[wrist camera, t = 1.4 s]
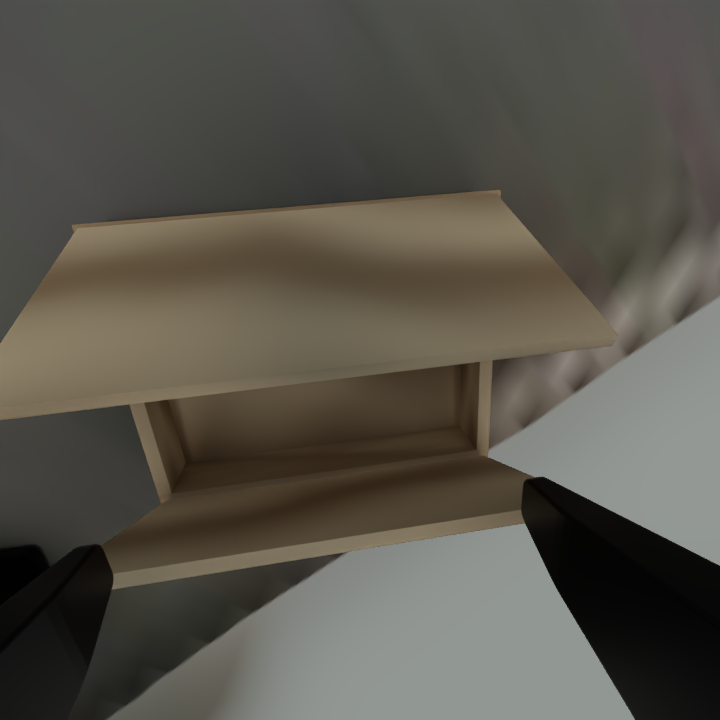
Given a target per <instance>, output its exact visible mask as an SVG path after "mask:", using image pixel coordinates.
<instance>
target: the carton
mask: <svg viewBox="0 0 720 720" xmlns="http://www.w3.org/2000/svg"><path fill="white" fill-rule="evenodd" d="M485 194H497V195H498V196H499V197H500V196H501V190H491V191H477V192H464V193H452V194H440V195H427V196H415V197H403V198H391V199H379V200H367V201H354V202H342V203H330V204H318V205H306V206H293V207H281V208H269V209H257V210H245V211H232V212H220V213H208V214H196V215H184V216H171V217H159V218H147V219H135V220H123V221H110V222H99V223H88V224H77V225H72V228H73V231H74V233H75V231H76V230H77V228H87V227H99V226H111V225H123V224H135V223H147V222H159V221H171V220H183V219H195V218H207V217H219V216H231V215H243V214H256V213H268V212H280V211H292V210H304V209H316V208H328V207H340V206H352V205H364V204H376V203H388V202H400V201H412V200H424V199H437V198H449V197H461V196H473V195H485ZM492 363H493V360H490V361H482V362H474V363H466V364H458V365H449V366H441V367H433V368H425V369H416V370H408V371H400V372H392V373H384V374H375V375H367V376H359V377H351V378H342V379H334V380H326V381H318V382H309V383H301V384H293V385H285V386H277V387H268V388H260V389H252V390H244V391H235V392H227V393H219V394H211V395H202V396H194V397H186V398H178V399H170V400H161V401H153V402H145V403H137V404H129V405H130V408H131V411H132V415H133V418H134V421H135V424H136V427H137V430H138V433H139V436H140V439H141V443H142V446H143V449H144V452H145V455H146V458H147V461H148V464H149V467H150V471H151V474H152V477H153V480H154V483H155V486H156V489H157V492H158V496H159V499H160V502H161V504H162V503H163V502H165V501H167V500H174V499H181V498H188V497H195V496H202V495H209V494H216V493H223V492H230V491H237V490H244V489H251V488H258V487H265V486H272V485H279V484H286V483H293V482H300V481H307V480H314V479H321V478H328V477H335V476H342V475H349V474H356V473H363V472H370V471H377V470H384V469H391V468H398V467H405V466H411V465H418V464H425V463H432V462H439V461H446V460H453V459H460V458H467V457H474V456H481V455H484V456H486V457H488V446H489V425H490V404H491V383H492Z"/></svg>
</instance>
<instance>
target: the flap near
mask: <svg viewBox="0 0 720 720" xmlns="http://www.w3.org/2000/svg"><path fill="white" fill-rule="evenodd" d="M617 336H618V333H617V332H616V331H615V330H614V329H613V328H612V326H611V325H610V324H609V323H608V322H607V321H606V319H605V318H604V317H603V316H602V315H601V314H600V313H599V311H598V310H597V309H596V308H595V307H594V306H593V304H592V303H591V302H590V301H589V300H588V299H587V298H586V296H585V295H584V294H583V293H582V292H581V291H580V289H579V288H578V287H577V286H576V285H575V284H574V283H573V281H572V280H571V279H570V278H569V277H568V276H567V275H566V273H565V272H564V271H563V270H562V269H561V268H560V266H559V265H558V264H557V263H556V262H555V261H554V260H553V258H552V257H551V256H550V255H549V254H548V253H547V251H546V250H545V249H544V248H543V247H542V246H541V245H540V243H539V242H538V241H537V240H536V239H535V238H534V236H533V235H532V234H531V233H530V232H529V231H528V230H527V228H526V227H525V226H524V225H523V224H522V223H521V221H520V220H519V219H518V218H517V217H516V216H515V215H514V213H513V212H512V211H511V210H510V209H509V208H508V206H507V205H506V204H505V203H504V202H503V201H502V200H501V198H500V197H499V196H498V195H497V194H485V195H473V196H461V197H449V198H437V199H424V200H412V201H400V202H388V203H376V204H364V205H352V206H340V207H328V208H316V209H304V210H292V211H280V212H268V213H256V214H243V215H231V216H219V217H207V218H195V219H183V220H171V221H159V222H147V223H135V224H123V225H111V226H99V227H87V228H77V230H76V231H75V233H74V234H73V236H72V237H71V239H70V240H69V242H68V243H67V245H66V246H65V248H64V249H63V251H62V252H61V254H60V255H59V257H58V258H57V260H56V261H55V263H54V264H53V266H52V267H51V269H50V270H49V272H48V273H47V275H46V276H45V278H44V279H43V281H42V282H41V284H40V285H39V286H38V288H37V289H36V291H35V292H34V294H33V295H32V297H31V298H30V300H29V301H28V303H27V304H26V306H25V307H24V309H23V310H22V312H21V313H20V315H19V316H18V318H17V319H16V321H15V322H14V324H13V325H12V327H11V328H10V330H9V331H8V333H7V334H6V336H5V337H4V339H3V340H2V342H1V343H0V420H5V419H13V418H21V417H30V416H38V415H46V414H54V413H63V412H71V411H79V410H87V409H96V408H104V407H112V406H120V405H128V404H137V403H145V402H153V401H161V400H170V399H178V398H186V397H194V396H202V395H211V394H219V393H227V392H235V391H244V390H252V389H260V388H268V387H277V386H285V385H293V384H301V383H309V382H318V381H326V380H334V379H342V378H351V377H359V376H367V375H375V374H384V373H392V372H400V371H408V370H416V369H425V368H433V367H441V366H449V365H458V364H466V363H474V362H482V361H490V360H499V359H507V358H515V357H523V356H532V355H540V354H548V353H556V352H565V351H573V350H581V349H589V348H597V347H606V346H611V345H612V344H613V342H614V341H615V339H616V337H617Z"/></svg>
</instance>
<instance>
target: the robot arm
mask: <svg viewBox="0 0 720 720" xmlns="http://www.w3.org/2000/svg"><path fill="white" fill-rule="evenodd" d="M521 513H522V517H523V520H524V522H525V524H526V526H527V528H528V530H529V532H530V534H531V537H532V539H533V541H534V543H535V545H536V547H537V549H538V551H539V553H540V556H541V558H542V560H543V562H544V564H545V566H546V568H547V570H548V572H549V574H550V577H551V579H552V581H553V582H554V584H555V586H556V588H557V590H558V592H559V593H560V595H561V597H562V598H563V600H564V602H565V603H566V605H567V607H568V608H569V610H570V612H571V613H572V615H573V617H574V618H575V620H576V622H577V624H578V625H579V627H580V628H581V630H582V632H583V633H584V635H585V637H586V639H587V640H588V642H589V643H590V645H591V647H592V648H593V650H594V652H595V653H596V655H597V657H598V658H599V660H600V662H601V664H602V665H603V667H604V669H605V670H606V672H607V674H608V675H609V677H610V679H611V680H612V682H613V683H614V685H615V687H616V688H617V690H618V692H619V693H620V695H621V697H622V698H623V700H624V702H625V703H626V705H627V707H628V708H629V710H630V712H631V713H632V715H633V717H634V719H635V720H720V566H719V565H717V564H715V563H713V562H711V561H709V560H707V559H705V558H703V557H701V556H699V555H697V554H695V553H693V552H691V551H689V550H688V549H686V548H683V547H682V546H680V545H678V544H676V543H674V542H672V541H670V540H668V539H666V538H664V537H662V536H660V535H658V534H656V533H653V532H651V531H650V530H648V529H646V528H644V527H642V526H640V525H638V524H636V523H634V522H632V521H630V520H628V519H626V518H624V517H622V516H620V515H618V514H616V513H614V512H612V511H610V510H608V509H606V508H604V507H602V506H600V505H598V504H596V503H594V502H593V501H591V500H589V499H587V498H585V497H583V496H581V495H579V494H577V493H575V492H573V491H571V490H569V489H567V488H565V487H563V486H561V485H559V484H557V483H555V482H553V481H551V480H549V479H547V478H545V477H536V478H529V479H526V480H525V481H524V483H523V490H522V502H521ZM113 580H114V577H113V572H112V569H111V567H110V564H109V562H108V559H107V557H106V554H105V552H104V549H103V548H102V546H101V545H99V544H92V545H86V546H80V547H77V548H75V549H73V550H72V551H71V552H69V553H68V554H67V555H66V556H64V557H63V558H62V559H60V560H59V561H58V562H56V563H55V564H54V565H53V566H51V567H50V568H49V569H48V568H47V566H46V564H45V562H44V560H43V558H42V556H41V554H40V552H39V551H38V550H37V549H35V548H32V547H25V548H18V549H11V550H5V551H0V720H69V717H70V715H71V712H72V710H73V707H74V705H75V702H76V700H77V697H78V694H79V692H80V689H81V687H82V684H83V682H84V679H85V676H86V674H87V671H88V668H89V665H90V662H91V659H92V656H93V652H94V649H95V645H96V642H97V639H98V635H99V632H100V628H101V625H102V621H103V618H104V614H105V611H106V607H107V604H108V601H109V597H110V594H111V590H112V587H113Z"/></svg>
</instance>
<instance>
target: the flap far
mask: <svg viewBox="0 0 720 720" xmlns="http://www.w3.org/2000/svg"><path fill="white" fill-rule="evenodd" d="M529 478H535V477H532V476H530V475H528V474H526V473H523V472H521V471H519V470H516V469H514V468H512V467H509V466H507V465H505V464H502V463H500V462H498V461H495V460H493V459H491V458H488V457H486V456H484V455H481V456H474V457H467V458H460V459H453V460H446V461H439V462H432V463H425V464H418V465H411V466H405V467H398V468H391V469H384V470H377V471H370V472H363V473H356V474H349V475H342V476H335V477H328V478H321V479H314V480H307V481H300V482H293V483H286V484H279V485H272V486H265V487H258V488H251V489H244V490H237V491H230V492H223V493H216V494H209V495H202V496H195V497H188V498H181V499H174V500H167V501H165V502H163V503H162V504H160V505H159V506H158V507H156V508H155V509H153V510H152V511H150V512H149V513H148V514H146V515H145V516H143V517H142V518H140V519H139V520H138V521H136V522H135V523H133V524H132V525H131V526H129V527H128V528H126V529H125V530H123V531H122V532H121V533H119V534H118V535H116V536H115V537H113V538H112V539H111V540H109V541H108V542H106V543H105V544H103V545H102V548H103V549H104V552H105V554H106V557H107V559H108V562H109V564H110V567H111V569H112V572H113V577H114V580H113V587H112V589H119V588H125V587H131V586H137V585H144V584H150V583H156V582H162V581H169V580H175V579H181V578H187V577H193V576H200V575H206V574H212V573H218V572H225V571H231V570H237V569H243V568H249V567H256V566H262V565H268V564H274V563H281V562H287V561H293V560H299V559H306V558H312V557H318V556H324V555H330V554H337V553H343V552H349V551H355V550H361V549H368V548H374V547H380V546H386V545H393V544H398V543H405V542H411V541H418V540H423V539H429V538H436V537H442V536H448V535H455V534H461V533H467V532H474V531H480V530H486V529H492V528H499V527H504V526H511V525H517V524H523V523H525V522H524V520H523V517H522V513H521V502H522V490H523V483H524V481H525V480H526V479H529Z"/></svg>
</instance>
